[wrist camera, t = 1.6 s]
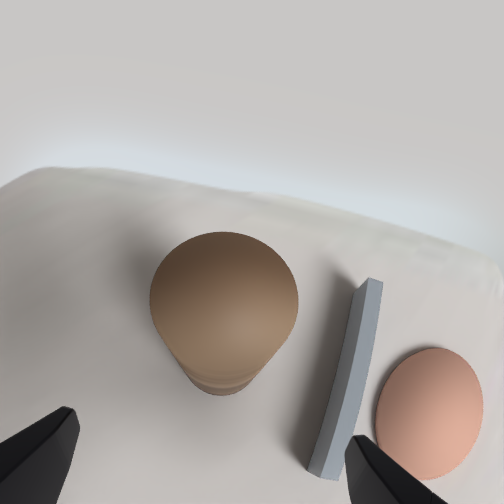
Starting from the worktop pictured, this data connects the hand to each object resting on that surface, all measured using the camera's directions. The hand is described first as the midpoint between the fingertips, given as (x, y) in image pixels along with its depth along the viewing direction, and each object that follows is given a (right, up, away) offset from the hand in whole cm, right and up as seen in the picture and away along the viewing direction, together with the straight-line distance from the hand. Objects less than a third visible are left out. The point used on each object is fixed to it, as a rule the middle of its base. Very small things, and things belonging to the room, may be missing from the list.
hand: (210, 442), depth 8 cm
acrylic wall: (+8, -3, +12) cm, 15 cm away
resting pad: (+16, -7, +11) cm, 20 cm away
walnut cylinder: (-1, -2, +12) cm, 13 cm away
